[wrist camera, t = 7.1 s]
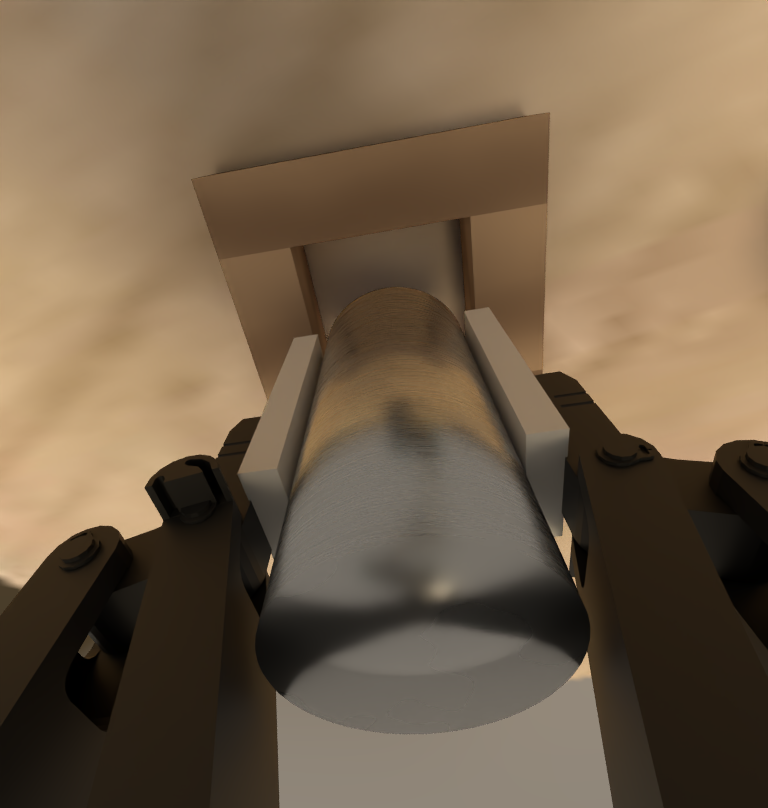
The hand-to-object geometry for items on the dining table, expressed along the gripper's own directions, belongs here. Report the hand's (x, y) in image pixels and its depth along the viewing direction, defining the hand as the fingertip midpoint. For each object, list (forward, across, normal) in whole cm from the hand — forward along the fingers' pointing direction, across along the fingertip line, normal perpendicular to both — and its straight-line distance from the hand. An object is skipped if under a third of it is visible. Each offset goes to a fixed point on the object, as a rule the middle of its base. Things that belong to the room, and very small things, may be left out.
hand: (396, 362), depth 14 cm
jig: (+7, 0, -5) cm, 8 cm away
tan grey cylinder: (+1, 0, 0) cm, 1 cm away
